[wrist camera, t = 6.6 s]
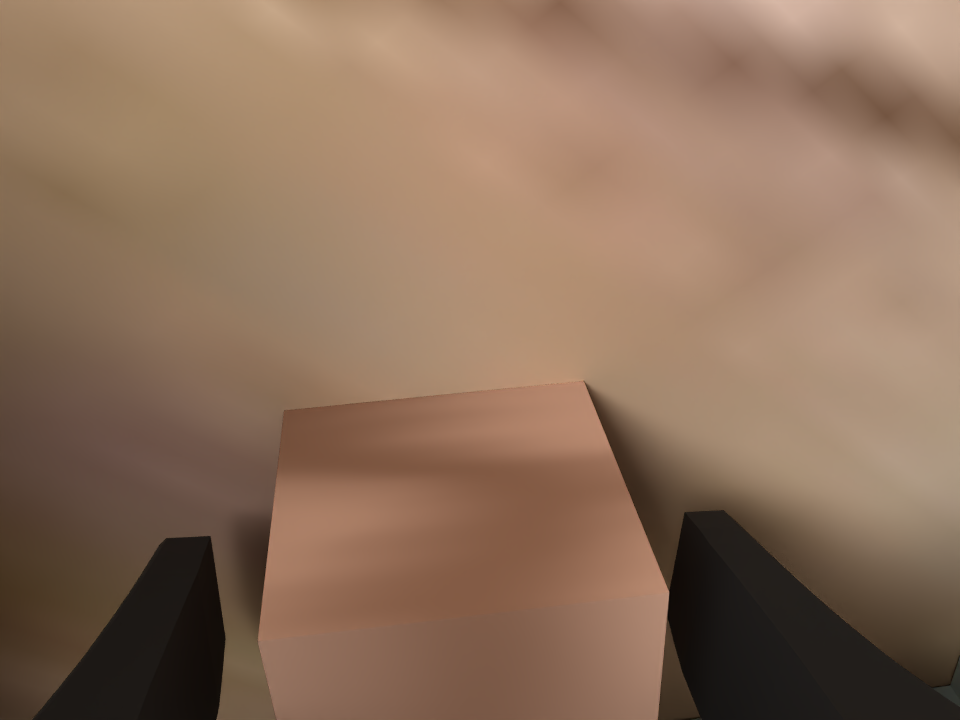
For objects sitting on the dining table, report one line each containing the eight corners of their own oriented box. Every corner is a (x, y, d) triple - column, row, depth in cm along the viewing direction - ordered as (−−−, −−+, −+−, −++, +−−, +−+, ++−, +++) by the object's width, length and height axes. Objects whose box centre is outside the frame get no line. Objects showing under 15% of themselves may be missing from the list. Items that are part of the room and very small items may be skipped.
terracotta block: (323, 621, 16) (314, 878, 12) (284, 407, 14) (257, 642, 10) (578, 591, 16) (647, 832, 12) (583, 377, 14) (669, 593, 10)
